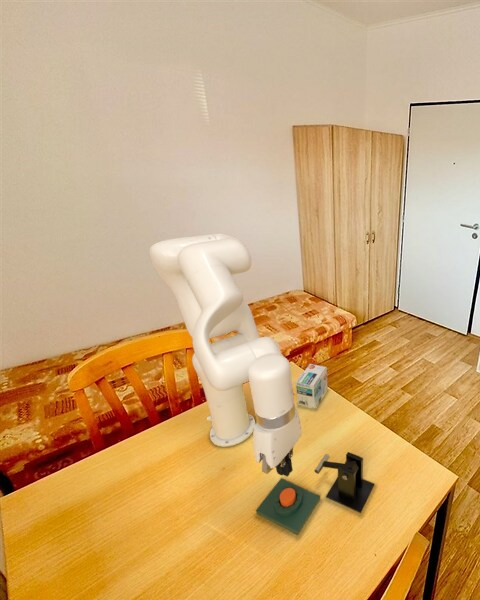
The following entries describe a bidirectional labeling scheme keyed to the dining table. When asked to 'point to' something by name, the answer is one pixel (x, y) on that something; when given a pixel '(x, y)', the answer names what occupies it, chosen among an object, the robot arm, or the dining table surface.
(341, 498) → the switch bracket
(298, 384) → the light bulb box
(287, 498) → the button
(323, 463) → the switch lever
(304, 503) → the control block
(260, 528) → the dining table surface
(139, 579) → the dining table surface
